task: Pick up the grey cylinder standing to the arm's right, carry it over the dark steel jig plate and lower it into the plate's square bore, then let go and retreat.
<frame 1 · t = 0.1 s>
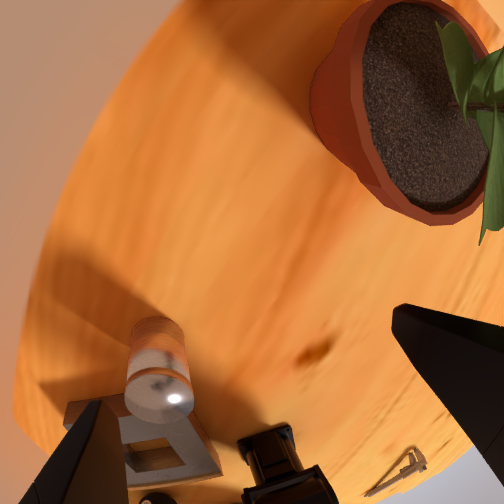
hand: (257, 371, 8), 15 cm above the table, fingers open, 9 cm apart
jig: (147, 435, 27), on the table
potted plant: (364, 112, 21), on the table
billiard ball: (157, 494, 33), on the table
grey cylinder: (157, 339, 23), on the table
caliper: (388, 473, 52), on the table
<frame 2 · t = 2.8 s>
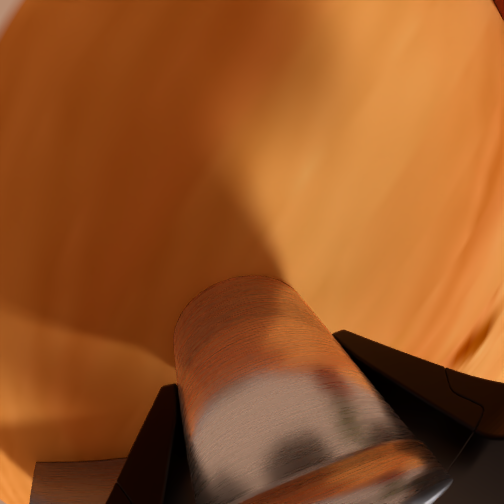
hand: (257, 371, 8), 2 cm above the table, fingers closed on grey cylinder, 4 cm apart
grey cylinder: (244, 339, 9), on the table, touching gripper
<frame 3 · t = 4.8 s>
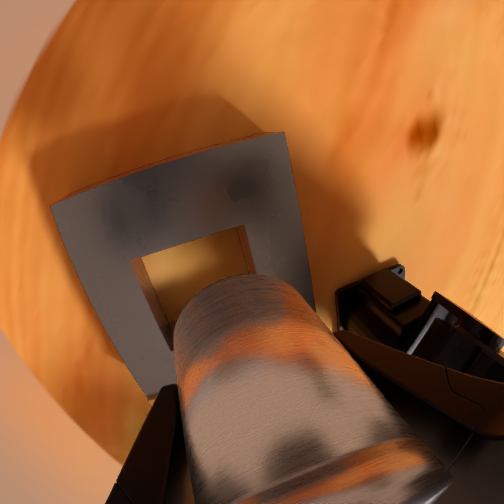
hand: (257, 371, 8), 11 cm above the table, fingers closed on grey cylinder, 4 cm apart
jig: (197, 270, 19), on the table
grey cylinder: (244, 338, 9), point 10 cm above the table, touching gripper
when the fingers open (3 cm above the table, at t = 7.1 s): grey cylinder drops 2 cm, resting in jig.
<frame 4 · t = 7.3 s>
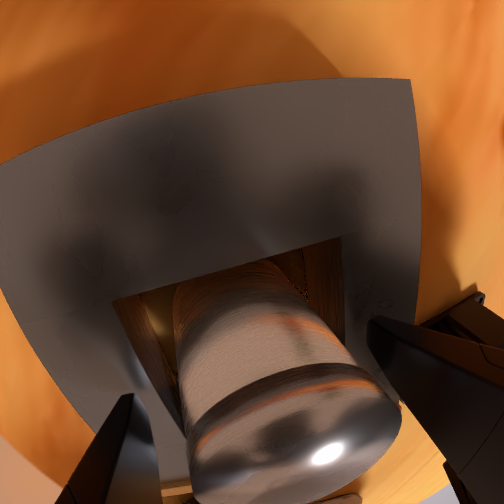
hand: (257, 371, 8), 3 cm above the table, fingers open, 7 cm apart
jig: (231, 308, 11), on the table
billiard ball: (202, 498, 17), on the table
grey cylinder: (232, 307, 11), resting in jig
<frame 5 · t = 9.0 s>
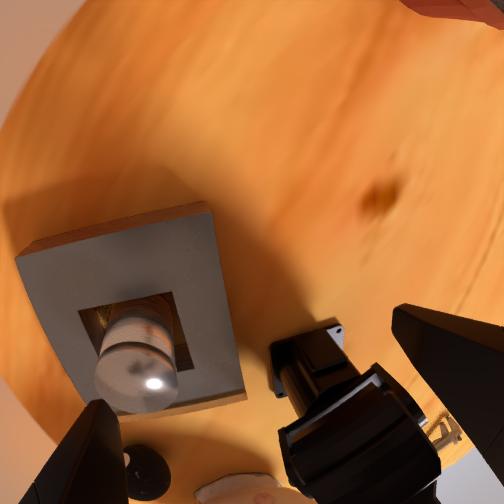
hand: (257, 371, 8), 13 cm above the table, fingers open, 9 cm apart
jig: (140, 317, 20), on the table
billiard ball: (139, 449, 25), on the table
grey cylinder: (141, 316, 20), resting in jig
ceramic pitcher: (229, 491, 32), on the table
caliper: (414, 450, 45), on the table
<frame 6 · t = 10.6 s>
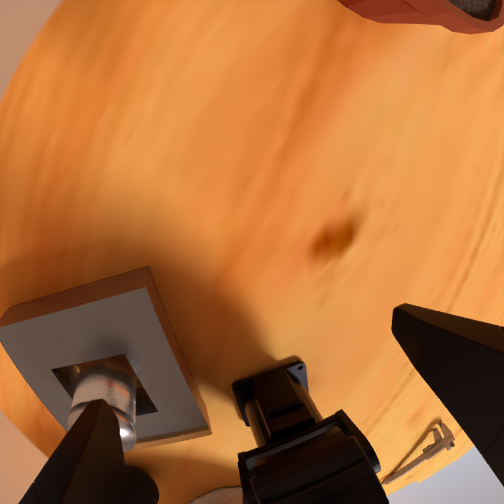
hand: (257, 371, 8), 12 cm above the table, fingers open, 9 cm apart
jig: (109, 366, 21), on the table
billiard ball: (130, 469, 26), on the table
grey cylinder: (109, 365, 21), resting in jig
ceramic pitcher: (221, 502, 33), on the table
caliper: (409, 454, 45), on the table
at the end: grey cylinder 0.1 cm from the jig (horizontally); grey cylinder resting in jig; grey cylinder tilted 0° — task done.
